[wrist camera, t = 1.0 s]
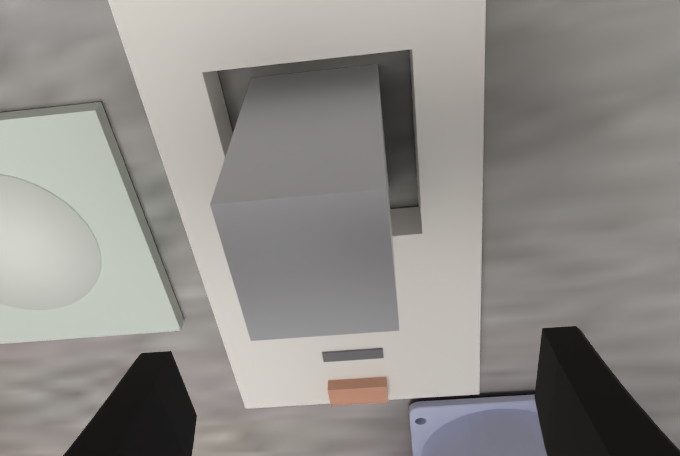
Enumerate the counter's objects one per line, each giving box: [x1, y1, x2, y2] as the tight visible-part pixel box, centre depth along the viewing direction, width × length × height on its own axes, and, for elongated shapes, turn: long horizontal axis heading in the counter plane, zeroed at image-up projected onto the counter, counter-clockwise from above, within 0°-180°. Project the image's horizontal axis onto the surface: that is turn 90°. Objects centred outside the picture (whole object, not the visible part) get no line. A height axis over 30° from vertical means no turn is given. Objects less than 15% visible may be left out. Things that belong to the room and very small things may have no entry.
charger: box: [210, 64, 400, 341], centre depth 18 cm, size 4×4×7 cm
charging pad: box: [0, 102, 184, 344], centre depth 24 cm, size 10×10×1 cm
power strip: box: [108, 0, 486, 409], centre depth 22 cm, size 18×10×2 cm, turn 7°
